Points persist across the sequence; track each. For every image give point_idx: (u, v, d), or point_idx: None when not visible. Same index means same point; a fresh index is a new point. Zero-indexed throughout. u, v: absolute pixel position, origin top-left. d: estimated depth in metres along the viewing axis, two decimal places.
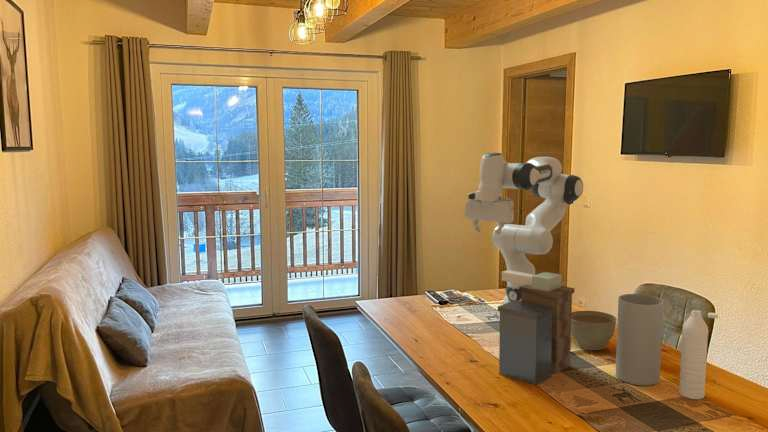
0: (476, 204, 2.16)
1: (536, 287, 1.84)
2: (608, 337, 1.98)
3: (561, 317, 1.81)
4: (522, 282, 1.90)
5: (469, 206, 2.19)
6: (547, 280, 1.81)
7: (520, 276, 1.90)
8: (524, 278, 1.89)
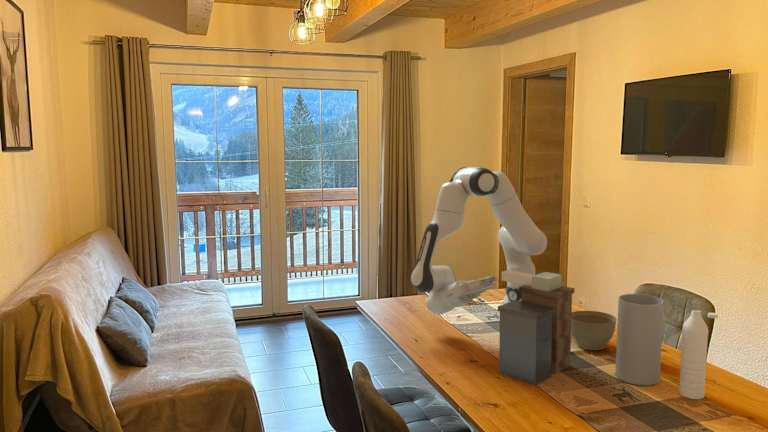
0: (476, 292, 2.12)
1: (536, 287, 1.84)
2: (608, 337, 1.98)
3: (561, 317, 1.81)
4: (522, 282, 1.90)
5: (483, 290, 2.14)
6: (547, 280, 1.81)
7: (520, 276, 1.90)
8: (524, 278, 1.89)
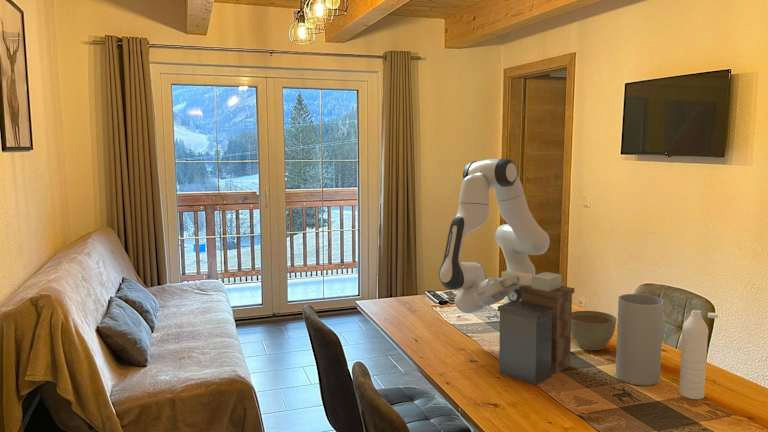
0: (508, 290, 2.02)
1: (536, 287, 1.84)
2: (608, 337, 1.98)
3: (561, 317, 1.81)
4: (522, 282, 1.90)
5: (515, 287, 2.04)
6: (547, 280, 1.81)
7: (520, 276, 1.90)
8: (524, 278, 1.89)
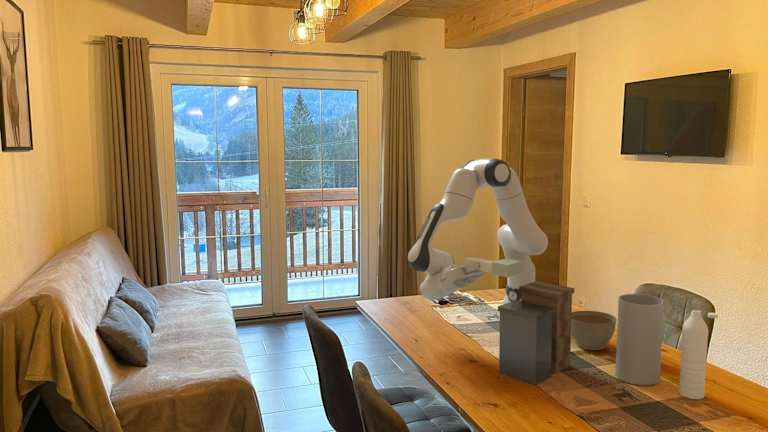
0: (472, 277, 2.03)
1: (496, 273, 1.85)
2: (608, 337, 1.98)
3: (561, 317, 1.81)
4: (483, 268, 1.91)
5: (479, 274, 2.05)
6: (506, 266, 1.82)
7: (481, 262, 1.92)
8: (485, 264, 1.91)
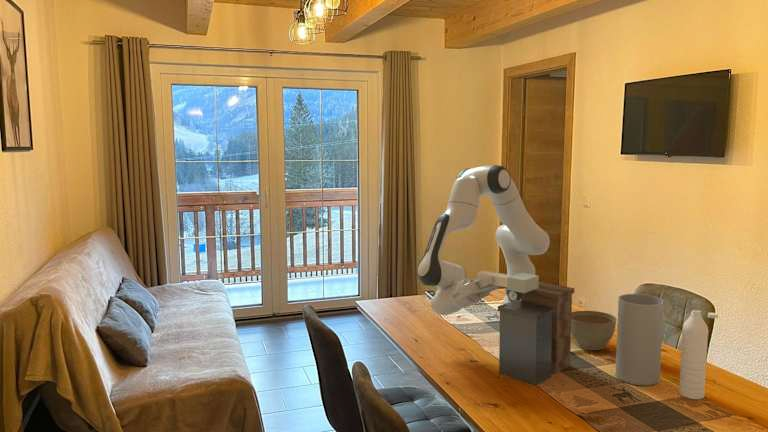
0: (485, 291, 1.94)
1: (512, 288, 1.76)
2: (608, 337, 1.98)
3: (561, 317, 1.81)
4: (498, 283, 1.82)
5: (493, 288, 1.96)
6: (522, 281, 1.73)
7: (496, 277, 1.83)
8: (500, 279, 1.81)
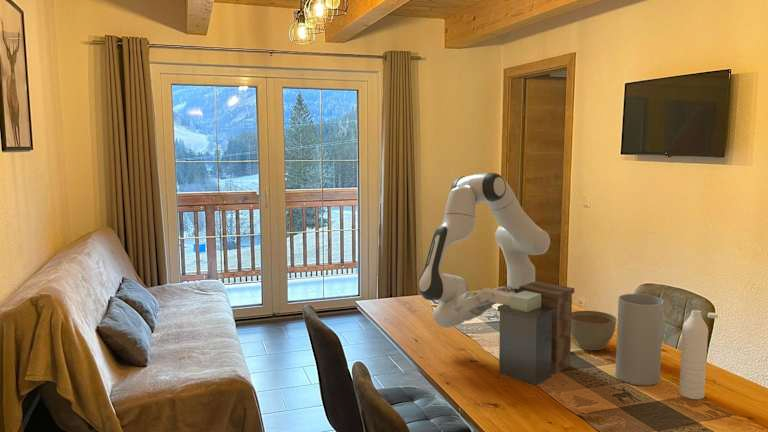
0: (488, 304, 1.94)
1: (514, 307, 1.76)
2: (608, 337, 1.98)
3: (561, 317, 1.81)
4: (500, 301, 1.82)
5: None
6: (525, 300, 1.73)
7: (498, 295, 1.83)
8: (503, 297, 1.82)
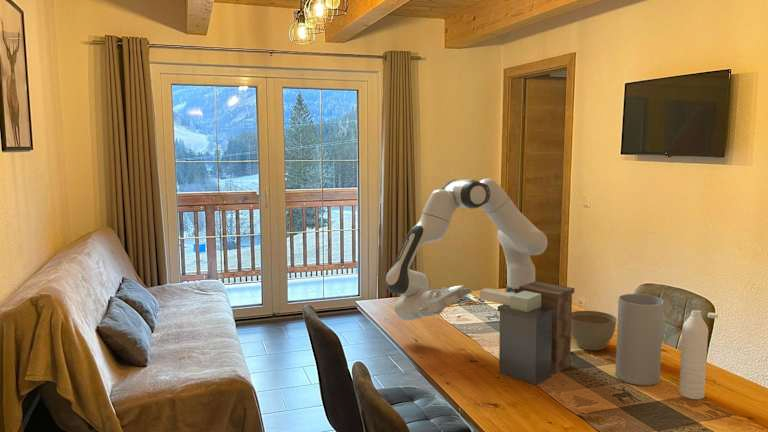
0: None
1: (514, 307, 1.76)
2: (608, 337, 1.98)
3: (561, 317, 1.81)
4: (500, 301, 1.82)
5: None
6: (525, 300, 1.73)
7: (498, 295, 1.83)
8: (503, 297, 1.82)
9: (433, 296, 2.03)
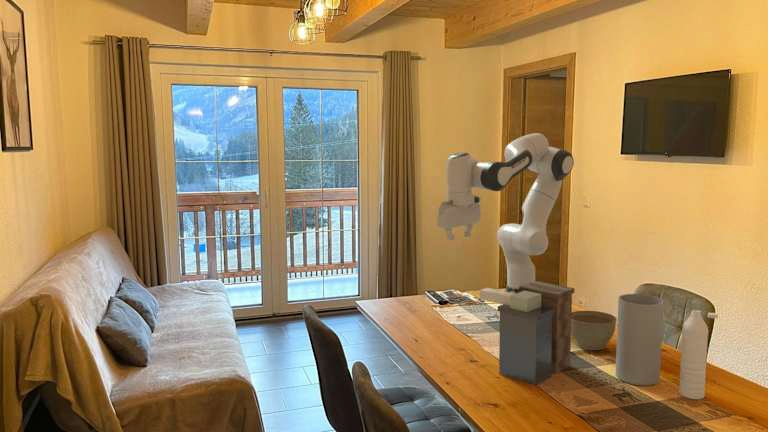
0: None
1: (514, 307, 1.76)
2: (608, 337, 1.98)
3: (561, 317, 1.81)
4: (500, 301, 1.82)
5: None
6: (525, 300, 1.73)
7: (498, 295, 1.83)
8: (503, 297, 1.82)
9: (460, 208, 1.99)
